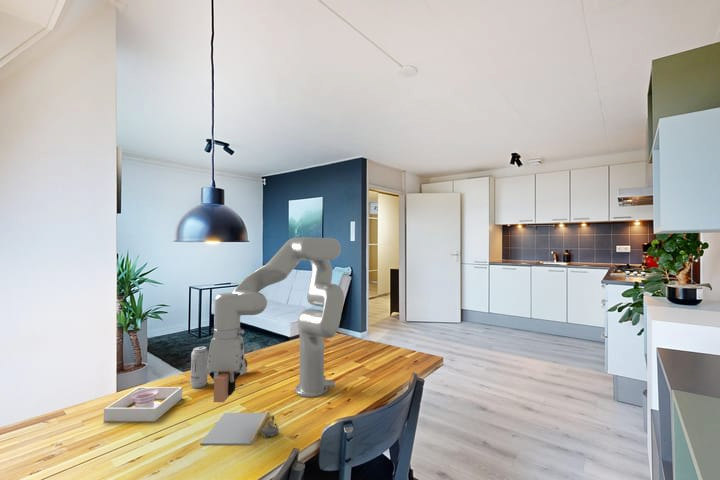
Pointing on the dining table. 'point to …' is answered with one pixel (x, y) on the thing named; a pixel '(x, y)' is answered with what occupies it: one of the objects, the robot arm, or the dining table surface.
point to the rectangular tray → (121, 413)
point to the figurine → (270, 429)
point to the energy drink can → (199, 367)
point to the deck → (221, 386)
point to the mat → (236, 429)
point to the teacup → (145, 398)
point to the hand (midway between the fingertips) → (224, 393)
